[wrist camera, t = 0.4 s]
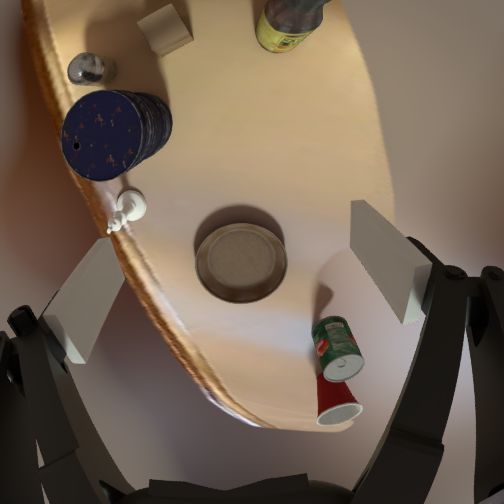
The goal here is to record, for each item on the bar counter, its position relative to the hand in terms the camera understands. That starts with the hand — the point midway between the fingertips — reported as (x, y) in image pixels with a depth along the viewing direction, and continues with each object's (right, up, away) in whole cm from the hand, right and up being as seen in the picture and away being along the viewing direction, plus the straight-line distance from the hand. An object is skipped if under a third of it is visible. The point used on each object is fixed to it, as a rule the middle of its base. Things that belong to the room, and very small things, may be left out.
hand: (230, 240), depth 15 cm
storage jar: (-15, +18, +23) cm, 33 cm away
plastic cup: (+20, -31, +51) cm, 63 cm away
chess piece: (-18, +7, +28) cm, 34 cm away
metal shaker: (-21, +26, +18) cm, 38 cm away
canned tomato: (+17, -17, +43) cm, 49 cm away
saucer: (-1, -2, +34) cm, 34 cm away
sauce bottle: (+5, +30, +18) cm, 35 cm away
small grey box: (-10, +30, +17) cm, 36 cm away
